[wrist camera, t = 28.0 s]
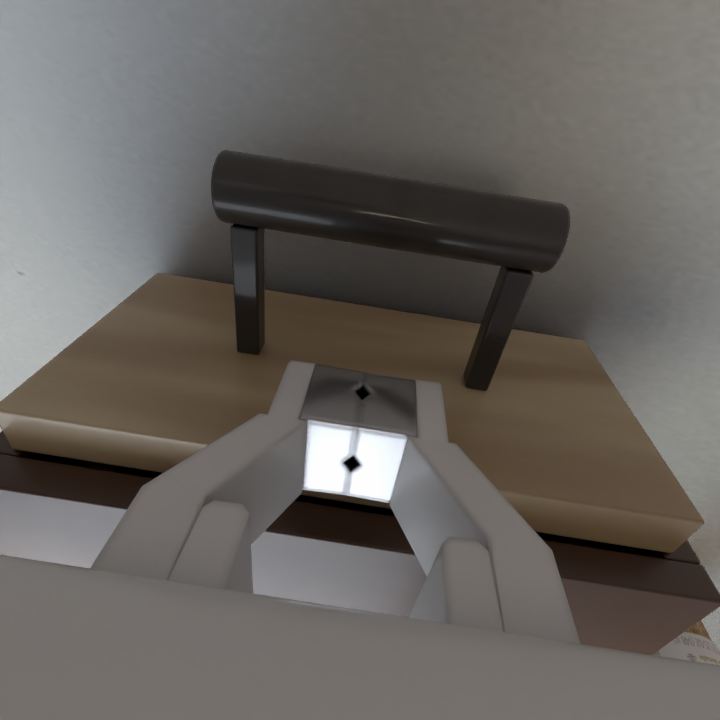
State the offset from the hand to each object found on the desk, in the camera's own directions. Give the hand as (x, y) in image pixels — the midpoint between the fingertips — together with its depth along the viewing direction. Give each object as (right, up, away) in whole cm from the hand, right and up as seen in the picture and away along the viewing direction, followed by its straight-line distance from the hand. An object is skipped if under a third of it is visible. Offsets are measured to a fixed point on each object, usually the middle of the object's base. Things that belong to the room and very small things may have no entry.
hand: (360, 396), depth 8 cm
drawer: (0, -1, +8) cm, 8 cm away
